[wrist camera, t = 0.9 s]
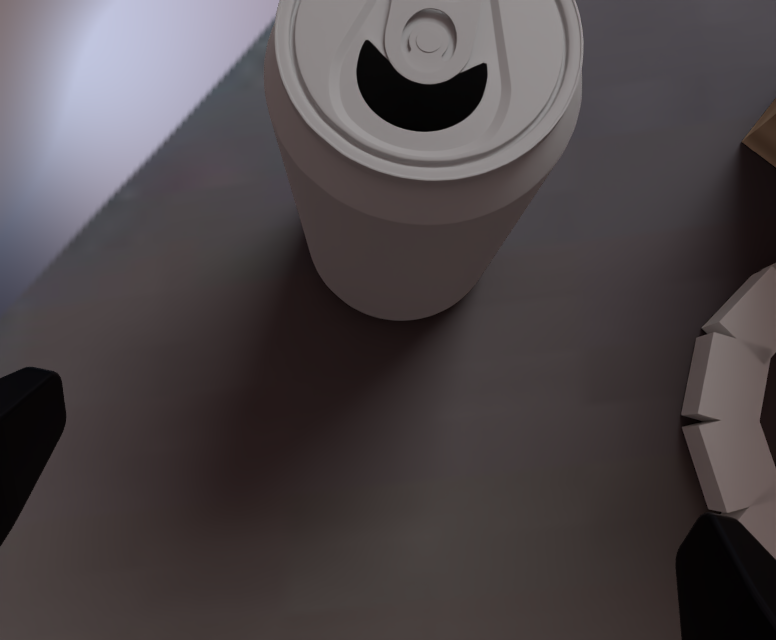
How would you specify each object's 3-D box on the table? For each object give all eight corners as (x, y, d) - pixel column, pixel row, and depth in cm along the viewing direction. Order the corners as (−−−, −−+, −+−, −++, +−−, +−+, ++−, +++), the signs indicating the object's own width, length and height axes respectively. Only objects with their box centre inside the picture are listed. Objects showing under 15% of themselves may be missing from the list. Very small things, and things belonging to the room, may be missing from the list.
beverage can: (291, 305, 23) (212, 161, 11) (330, 136, 24) (295, -152, 13) (471, 341, 23) (580, 234, 11) (501, 170, 24) (627, -87, 13)
